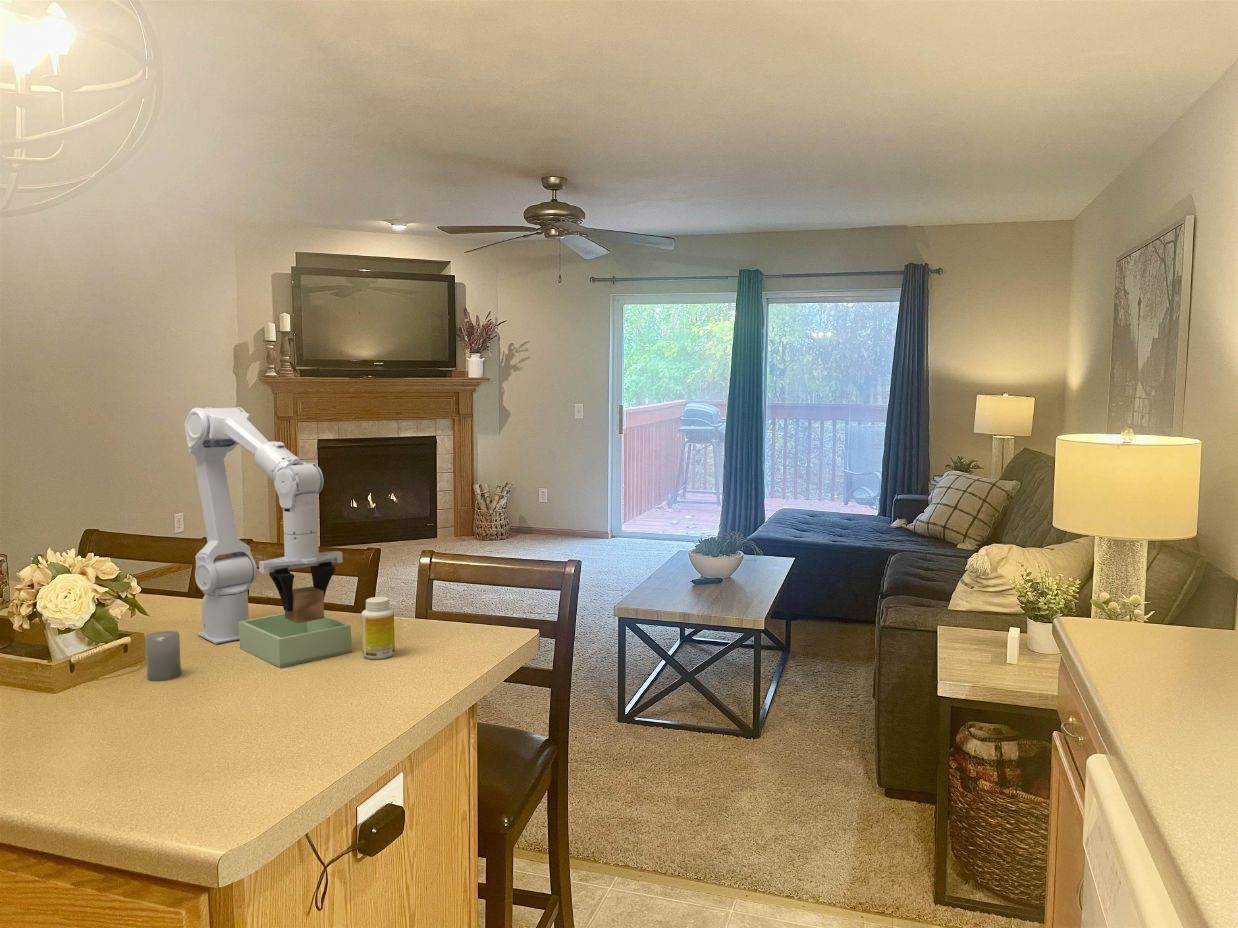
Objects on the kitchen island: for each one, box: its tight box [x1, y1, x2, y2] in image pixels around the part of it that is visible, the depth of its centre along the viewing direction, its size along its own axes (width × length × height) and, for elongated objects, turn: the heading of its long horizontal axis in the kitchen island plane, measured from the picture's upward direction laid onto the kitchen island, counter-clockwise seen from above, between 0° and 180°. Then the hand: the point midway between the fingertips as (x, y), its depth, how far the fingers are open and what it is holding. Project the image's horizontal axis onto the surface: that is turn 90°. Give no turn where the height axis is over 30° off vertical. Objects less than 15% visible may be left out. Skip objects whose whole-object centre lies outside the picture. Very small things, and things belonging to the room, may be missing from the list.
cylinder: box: [144, 630, 182, 682], centre depth 148 cm, size 5×5×7 cm
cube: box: [284, 586, 325, 623], centre depth 159 cm, size 5×5×5 cm
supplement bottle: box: [360, 596, 396, 660], centre depth 158 cm, size 6×6×10 cm
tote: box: [239, 612, 353, 669], centre depth 162 cm, size 17×13×5 cm
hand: (303, 607), depth 159 cm, fingers closed on cube, 5 cm apart
